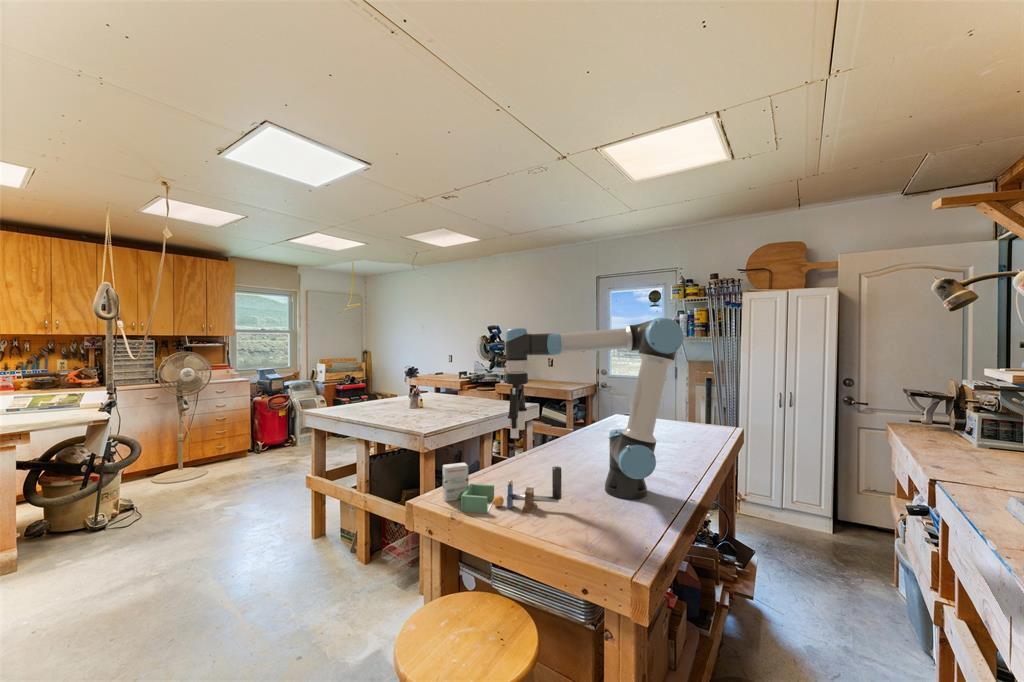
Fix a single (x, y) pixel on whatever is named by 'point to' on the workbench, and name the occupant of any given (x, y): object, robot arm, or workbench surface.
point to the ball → (498, 500)
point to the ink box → (454, 481)
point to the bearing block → (529, 501)
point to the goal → (477, 498)
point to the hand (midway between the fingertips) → (518, 433)
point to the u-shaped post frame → (554, 498)
